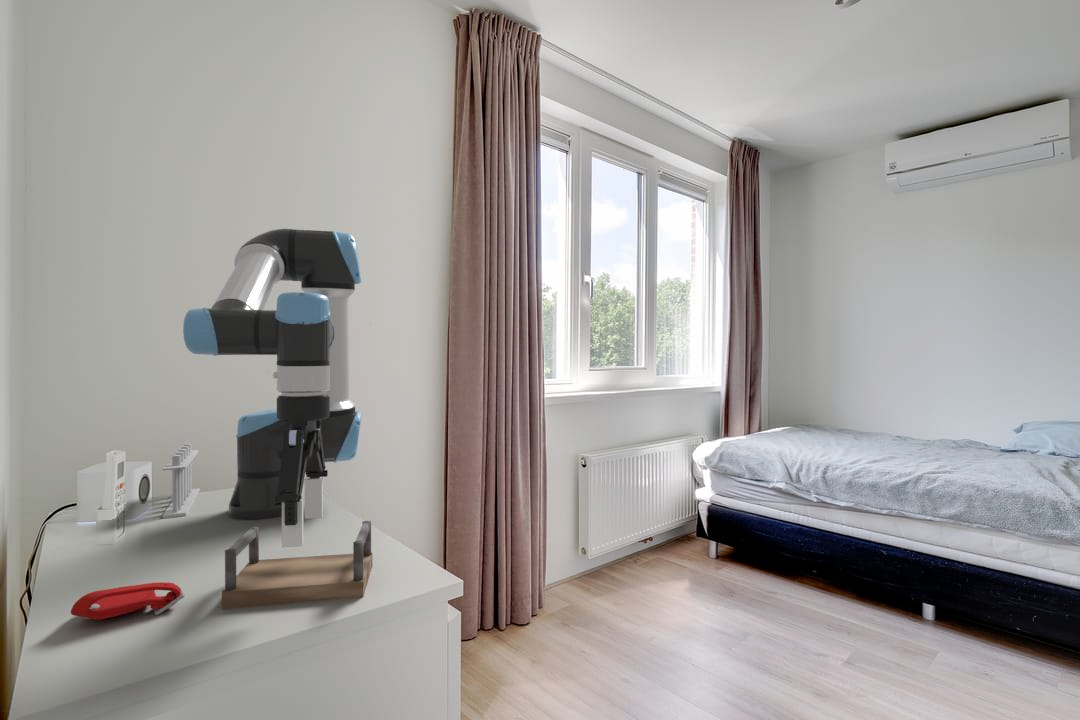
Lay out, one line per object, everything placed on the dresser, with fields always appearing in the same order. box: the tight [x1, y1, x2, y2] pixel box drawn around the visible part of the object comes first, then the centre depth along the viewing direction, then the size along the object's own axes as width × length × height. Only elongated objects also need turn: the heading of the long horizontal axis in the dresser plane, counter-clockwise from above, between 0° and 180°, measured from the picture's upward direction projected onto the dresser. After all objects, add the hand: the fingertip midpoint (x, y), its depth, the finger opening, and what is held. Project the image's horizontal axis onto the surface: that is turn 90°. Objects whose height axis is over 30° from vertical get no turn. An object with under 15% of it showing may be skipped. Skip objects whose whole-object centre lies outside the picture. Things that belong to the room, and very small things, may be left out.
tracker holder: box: [70, 581, 186, 621], centre depth 75 cm, size 12×4×10 cm
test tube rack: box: [162, 443, 200, 519], centre depth 131 cm, size 25×4×13 cm, turn 26°
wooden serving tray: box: [221, 520, 373, 610], centre depth 84 cm, size 12×19×8 cm, turn 101°
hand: (304, 531), depth 84 cm, fingers open, 13 cm apart
